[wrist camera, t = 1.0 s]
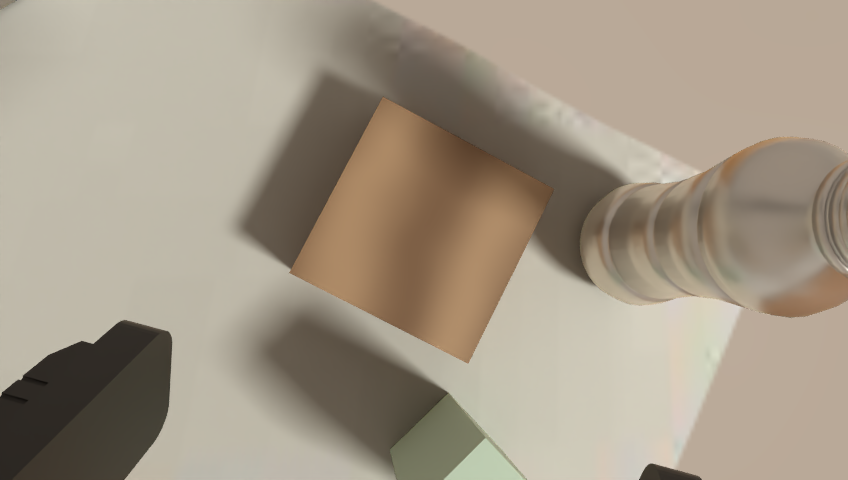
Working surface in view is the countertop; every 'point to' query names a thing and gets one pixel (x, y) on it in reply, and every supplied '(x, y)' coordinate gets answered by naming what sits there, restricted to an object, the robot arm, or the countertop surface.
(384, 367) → the countertop surface
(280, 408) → the countertop surface
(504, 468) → the block
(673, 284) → the plastic bottle
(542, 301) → the countertop surface
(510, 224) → the base
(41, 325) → the countertop surface
